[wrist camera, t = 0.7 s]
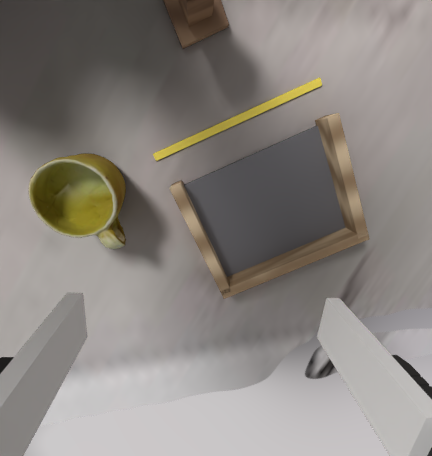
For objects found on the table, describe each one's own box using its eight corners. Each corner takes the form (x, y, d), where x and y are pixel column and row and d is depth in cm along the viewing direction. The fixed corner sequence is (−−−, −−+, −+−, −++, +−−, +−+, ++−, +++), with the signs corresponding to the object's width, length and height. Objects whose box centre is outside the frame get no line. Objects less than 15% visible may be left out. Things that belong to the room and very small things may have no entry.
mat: (183, 185, 37) (183, 185, 36) (316, 125, 35) (317, 125, 35) (226, 275, 42) (227, 277, 41) (344, 226, 40) (345, 227, 40)
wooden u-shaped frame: (172, 184, 36) (169, 188, 33) (325, 115, 35) (338, 113, 32) (221, 286, 42) (224, 298, 39) (355, 231, 41) (369, 239, 38)
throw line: (153, 153, 35) (152, 153, 35) (319, 77, 34) (320, 77, 33) (156, 160, 35) (156, 160, 35) (321, 85, 34) (322, 85, 34)
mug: (23, 163, 32) (1, 180, 24) (103, 136, 35) (108, 143, 27) (74, 241, 39) (71, 276, 30) (139, 213, 41) (153, 238, 33)
